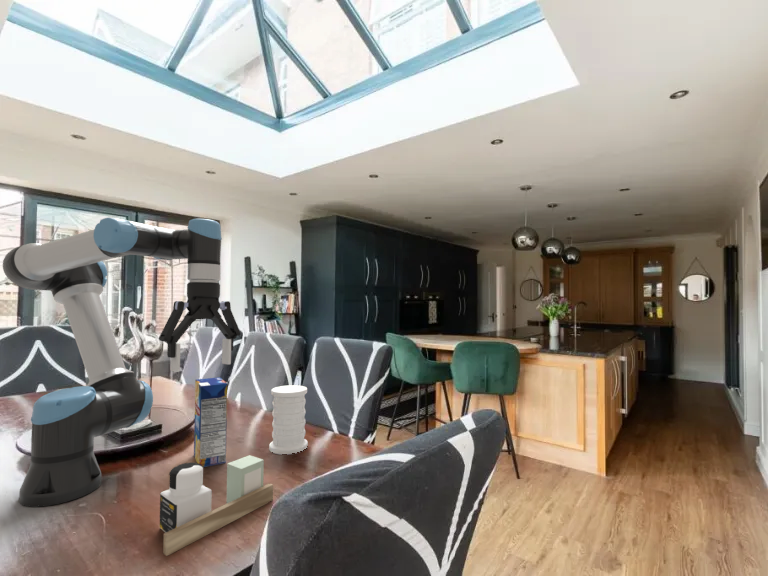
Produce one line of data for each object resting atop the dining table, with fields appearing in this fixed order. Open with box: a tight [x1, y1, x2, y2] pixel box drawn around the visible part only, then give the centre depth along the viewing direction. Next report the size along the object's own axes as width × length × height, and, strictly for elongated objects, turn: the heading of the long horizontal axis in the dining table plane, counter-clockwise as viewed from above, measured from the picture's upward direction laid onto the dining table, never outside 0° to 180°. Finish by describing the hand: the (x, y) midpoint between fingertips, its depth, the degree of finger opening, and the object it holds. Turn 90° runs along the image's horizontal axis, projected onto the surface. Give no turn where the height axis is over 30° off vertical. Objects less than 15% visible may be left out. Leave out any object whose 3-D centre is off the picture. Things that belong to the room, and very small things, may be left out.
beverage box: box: [193, 376, 228, 468], centre depth 115 cm, size 7×11×22 cm, turn 32°
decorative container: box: [268, 384, 309, 455], centre depth 124 cm, size 12×12×18 cm
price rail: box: [162, 483, 274, 557], centre depth 81 cm, size 2×24×4 cm, turn 147°
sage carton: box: [226, 454, 265, 504], centre depth 90 cm, size 5×6×9 cm
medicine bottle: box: [159, 461, 213, 533], centre depth 80 cm, size 7×7×12 cm
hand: (202, 367), depth 99 cm, fingers open, 13 cm apart
